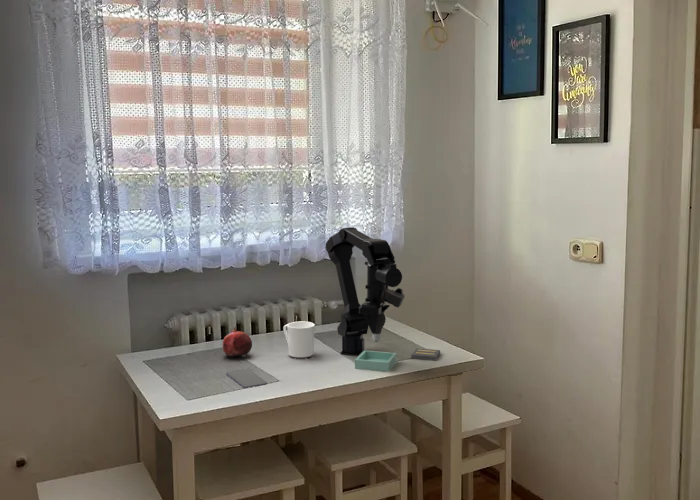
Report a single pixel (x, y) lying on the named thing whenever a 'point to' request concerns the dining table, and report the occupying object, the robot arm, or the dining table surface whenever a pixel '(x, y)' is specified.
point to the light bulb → (379, 327)
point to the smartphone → (246, 378)
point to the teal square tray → (375, 360)
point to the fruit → (237, 343)
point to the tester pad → (425, 354)
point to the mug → (300, 339)
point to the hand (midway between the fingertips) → (376, 330)
